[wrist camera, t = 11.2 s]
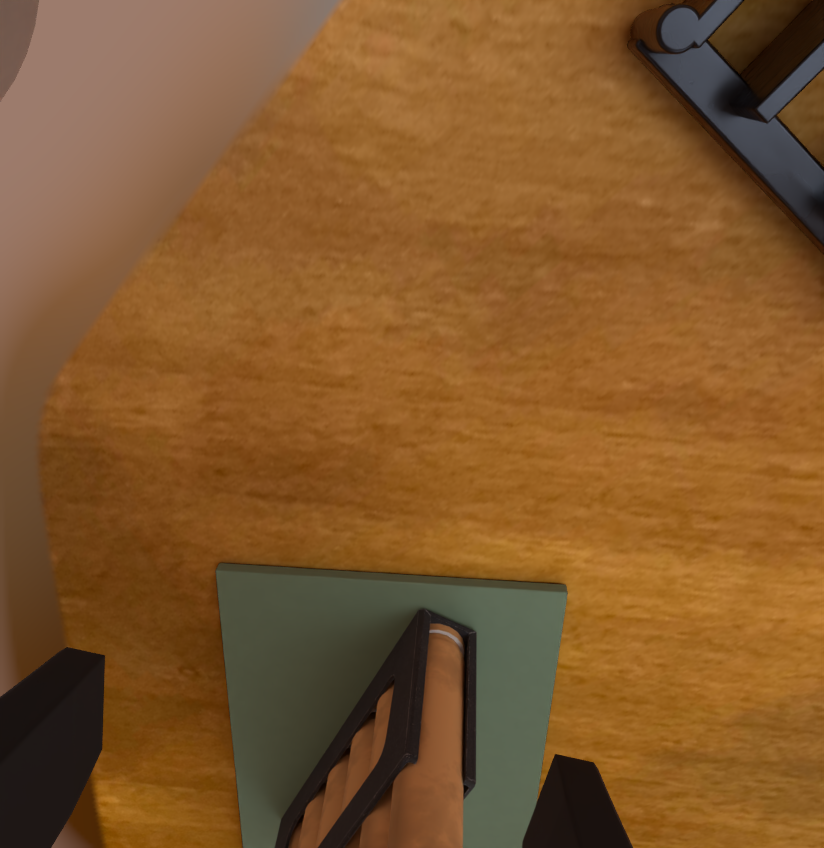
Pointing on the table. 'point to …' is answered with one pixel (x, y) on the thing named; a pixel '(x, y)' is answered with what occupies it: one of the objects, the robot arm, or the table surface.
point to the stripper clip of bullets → (398, 751)
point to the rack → (743, 96)
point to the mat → (357, 666)
